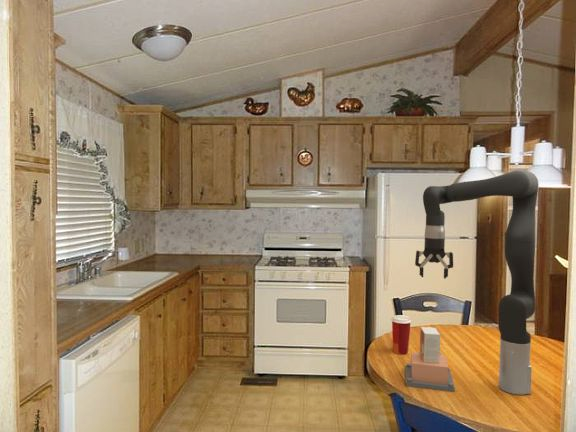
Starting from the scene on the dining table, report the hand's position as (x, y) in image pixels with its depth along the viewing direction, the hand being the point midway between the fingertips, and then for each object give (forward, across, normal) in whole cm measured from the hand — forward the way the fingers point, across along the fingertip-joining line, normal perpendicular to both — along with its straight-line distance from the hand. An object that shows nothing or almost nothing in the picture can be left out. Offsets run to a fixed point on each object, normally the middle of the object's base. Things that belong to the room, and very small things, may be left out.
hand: (433, 277), depth 173 cm
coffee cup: (+34, -12, +8) cm, 37 cm away
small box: (+27, -2, -18) cm, 32 cm away
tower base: (+34, -2, -18) cm, 39 cm away
